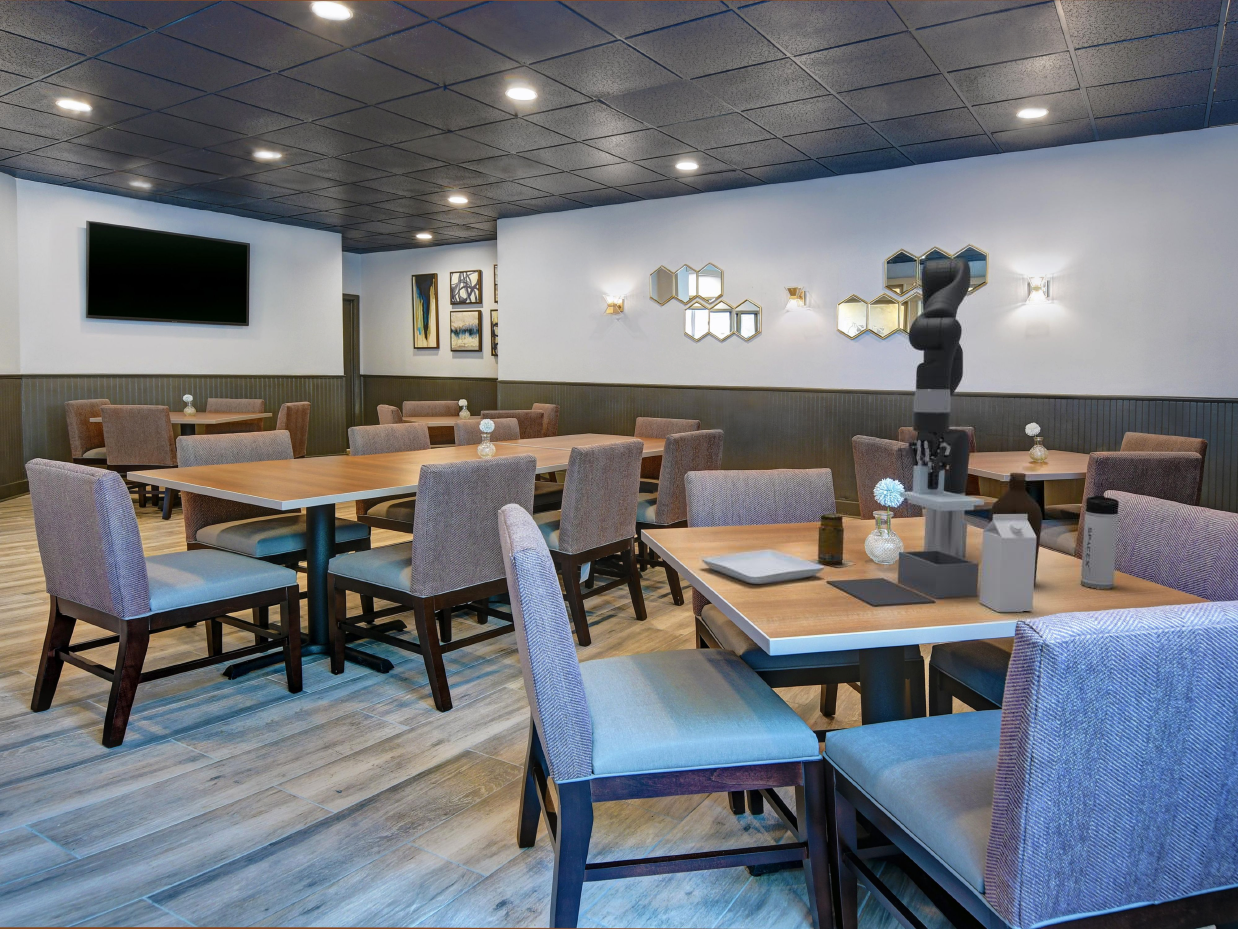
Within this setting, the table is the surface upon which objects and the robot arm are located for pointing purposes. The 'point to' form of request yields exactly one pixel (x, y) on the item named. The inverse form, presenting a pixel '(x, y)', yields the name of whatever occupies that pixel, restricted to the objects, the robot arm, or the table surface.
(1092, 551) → the travel mug
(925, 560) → the tub
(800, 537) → the table surface
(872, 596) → the mat
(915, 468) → the lid
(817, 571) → the salad plate
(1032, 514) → the olive oil
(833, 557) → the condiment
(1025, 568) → the milk carton
